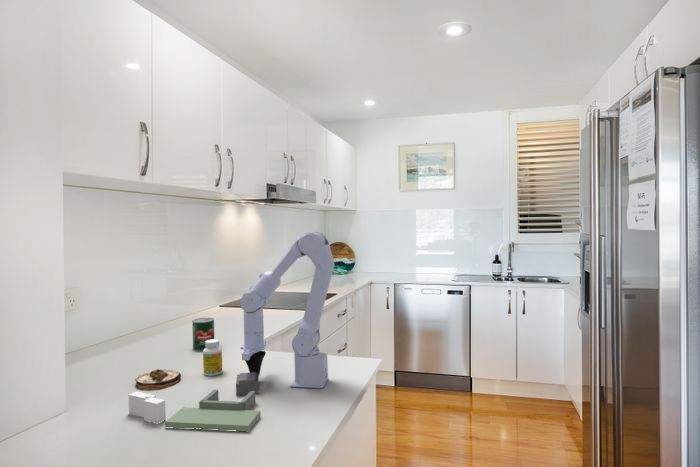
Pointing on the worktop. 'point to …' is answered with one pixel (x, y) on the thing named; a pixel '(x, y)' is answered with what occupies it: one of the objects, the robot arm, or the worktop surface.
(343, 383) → the worktop surface
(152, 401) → the white stepped block
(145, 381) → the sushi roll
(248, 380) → the dark grey block
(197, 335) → the canned tomato
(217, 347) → the supplement bottle
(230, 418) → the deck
